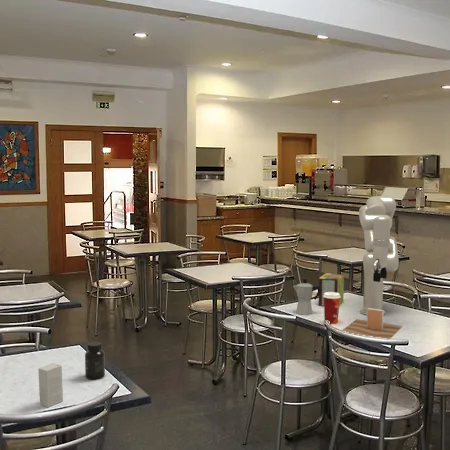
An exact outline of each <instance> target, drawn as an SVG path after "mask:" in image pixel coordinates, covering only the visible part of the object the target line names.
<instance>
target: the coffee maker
mask: <svg viewBox="0 0 450 450" xmlns="http://www.w3.org/2000/svg"><path fill="white" fill-rule="evenodd" d="M302 281H303V282H302V283H301V282H300V283H298V284H296V285H293V286H292V288H293V289H294V290H295V292H296V295H297V296H296V297H297V306H296V314H297V315H301V316H309V315H313V309H312V300H311V299H314V300H315V301H316V300H317V298H319V294H320V292H321V291H322V289H321V287H320V286H319V285H316V283H315V284H314V283H313V284H311V283H308V278H306V277H304V278H302ZM317 290H318V292H317V293H316V295H315V296H314V297H313V292H315V291H317ZM312 297H313V298H312Z"/></svg>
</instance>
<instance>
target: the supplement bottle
mask: <svg viewBox="0 0 450 450" xmlns="http://www.w3.org/2000/svg"><path fill="white" fill-rule="evenodd" d="M102 348H103V347H102V342H100V341H99V342H98V341H92V342H88V343H87V351H86V352H85V353H84V368H85V369H84V371H85V372H84V374H85V375H84V376H85V378H86V379H87V380H91V381H92V380H94V381H96V380H101V379H103V378H104V377H105V375H106V361H105V359H106V358H105V354H106V353H105V351H104V350H102Z"/></svg>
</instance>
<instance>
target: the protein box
mask: <svg viewBox="0 0 450 450" xmlns="http://www.w3.org/2000/svg"><path fill="white" fill-rule="evenodd" d="M344 285H345V274H339V273H328V272H326V273H324V274H323V275H321V276H320V277H319V278H318V286H320V287H321V289H322V291H321V292H320V294H319V295H318V307H324V297H323V295H324V293H326V292H336V293H339V294H340V302H339V306H340V305H341V304H343V303H344V290H345V289H344V288H345V287H344Z"/></svg>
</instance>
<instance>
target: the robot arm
mask: <svg viewBox="0 0 450 450" xmlns="http://www.w3.org/2000/svg"><path fill="white" fill-rule="evenodd" d="M396 209H397V202H396V200H395V198H394V197H393V196H390V195H387V196H386V195H385V196H384V195H375V196H370V197H369V198H368V199H367V200H366V204H365V205H363V206H360V207H359V210H358V219H359V222H360V226H361V228H362V230H363V233H364V235H363V236H364V248H365V250H366V253H365V254H364V255H363V257H362V265H363V303H362V305H363V307H362V308H360V309H359V312H360V314H361V315H366V316H367V311H368V308H372V309H379V310H383V296H384V279H387V275H388V272H396V271H397V270H398V269H399V264H400V263H399V262H400V261H399V252H398V244H397V239H396V238H395V237H394V236H392V235H391V229H392V228H393V224H394V223H393V217H394V214H395V212H396ZM384 315H386V311H385V310H384V314H383V316H384Z"/></svg>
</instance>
